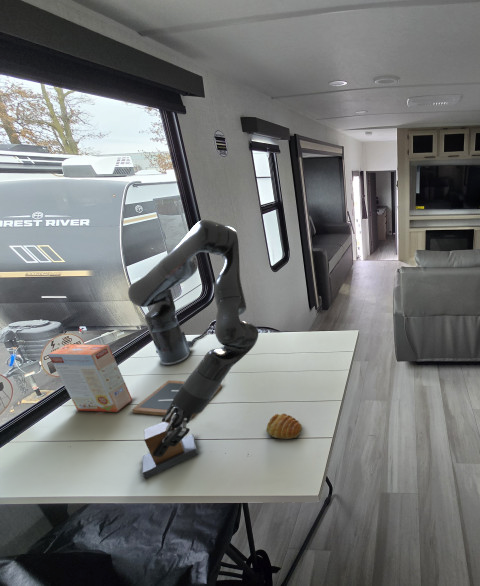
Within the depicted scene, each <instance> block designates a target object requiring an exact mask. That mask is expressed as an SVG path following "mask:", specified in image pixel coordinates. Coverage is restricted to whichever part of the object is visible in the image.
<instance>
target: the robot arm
mask: <svg viewBox="0 0 480 586" xmlns="http://www.w3.org/2000/svg"><path fill="white" fill-rule="evenodd" d="M239 244H240V243H239V237H238V233H237V231H236V230H235V229H234V228H233V227H231V226H229V225H226V224H222V223H220V222H219V223H218V222H217V221H213V220H210V219H209V220H208V219H202V220H200V221H198V222H197V223H195V225H193V227H192V228H191V229H190V231H189V232H188V233H187V234H186V235H185V237H184V238H183V239H182V240H181V241H180V242H179V244H178V245H176V247H174V248H173V249H172V250H171V251H170V252H169V253H168V254H166V255H165V256H164V257H163V258H162V259H161V260H160V261H159V262H158V263H157V264H156V265H155V266H154V267H152V268H151V269H150V270H149V271H148V272H147V273H146V274H145V275H144V276H142V277H141V278H140V279H137V280H136V281H135V282H133V283H131V285H129V287H128V291H127V295H128V296H127V297H128V299H129V300H130V302H131V303H132V304H133V305H135V306H136V307H139V308H140V307H141V308H147V307H151V306H152V307H151V308H150V310H149V311H147V312H146V314H145V315H144V321H145V323H146V326H147V328H148V332H149V334H150V337H151V338H152V342H153V345H154V346H155V349H156V350H155V352H156V354H157V356H158V358H159V361H160V364H161V365H163V366H171V365H176V364H179V363H181V362H183V361H184V360H186V359H187V358H189V356H190V354H191V349H190V348H192V347H193V345H194V342H195V341H197V340H199V339H200V338H202V337H204V336H205V335H206V334H207V333H208V331H209V330H212V331H213V330H214V335H215V337H216V339H217V341H218V343H219V344H220V345H222V346H221V347H219V348H212V349H210V350H209V351H207V353H206V354H205V355H204V357H203V358H202V359H201V361H200V362H199V363H198V365H197V366H196V368H195V369H194V370H192V372H191V373H190V374H189V375H188V377H187V378H186V380H184V381H183V382H184V384H183V385H182V387H181V388H180V389H179V391H178V392H177V394H176V395H175V396H174V398H173V402H172V403H171V405H170V407H169V409H168V410H167V412H166V414H165V416H164V415H163V417H162V419H161V423H162V422H164V421H165V422H166V421H169V419H170V423H169V424H168V426H167V428H166V432H167V433H166V434H165V436H164V437H163V439H162V440H161V442H160V443H159V445H158V446H157V447H156V449H155V450H154V452H153V456H157V457H161V456H163V455H164V453H165V452H166V450H167V449H168V448H169V446H174V447H175V446H176V445H177V444H178V443H179V442H180V441H181V440H182V439H183V438H185V437H187V435H188V434H189V433H190V431H191V430H190V428H189V427H187V425H188V424H189V423H190V421H191V420H192V418H193V417H192V415H193V414H195V415H197V414H199V413H202V412H203V411H204V410H205V408H206V407H207V405H208V404H209V403H210V401H211V400H212V398H213V397H214V396H215V395H216V393H217V392H218V391H219V390H218V388H219V386H220V384H221V385H222V383H223V381H224V379H225V378H226V376H227V375H228V373H230V371H231V370H232V368H233V366H235V365H236V364H237V363H238V362H240V361H241V360H242V359H243V358H244V357H245V356H246V355H248V353H249V352H250V351H251V350H252V349H253V348H254V347H255V345H256V344H257V341H258V339H259V330H258V327H257V326H256V325H255V324H253V323H250V322H248V321H245V320H241V319H240V316H242V315H244V314H245V313H246V311H247V302H246V298H245V294H244V289H243V284H242V280H241V267H240V266H241V265H240V264H241V263H240V245H239ZM199 253H206V254H211V255H216V256H221V258H222V261H223V267H222V269H221V270H220V272H219V274H218V275H217V277H216V279H215V282H214V284H213V295H214V298H215V300H214V301H215V304H216V309H217V311H216V315H215V325H214V328H213V327H208V328H207V329H206V330H205V331H204V332H203V333H202V334H200V335H197V336H196V337H194V338H193V339H192V340H191V341H190V340H188V339H187V337H186V334H185V331H182V329H181V326H180V323H179V319H178V317H177V314H176V304H175V301H174V297H173V292H172V290H171V289H173V288H175V287H178V286H179V285H181V284H183V283H185V282H187V281H188V280H189V279H190V278H191V277H193V276H194V275H195V274H196V272H198V271H197V270H198V267H199V262H198V258H197V255H198V254H199ZM217 390H218V391H217ZM216 391H217V392H216ZM215 392H216V393H215ZM191 417H192V418H191ZM171 427H173V428H175V430H172V429H171ZM169 434H171V435H170V436H169ZM168 436H169V437H168Z"/></svg>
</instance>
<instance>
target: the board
mask: <svg viewBox="0 0 480 586" xmlns="http://www.w3.org/2000/svg"><path fill="white" fill-rule="evenodd" d="M184 382H185V381H184V380H183V381H181V380H167V381H166V382H165V383H163V384H162V385H161V386H160V387H158V388H157V389H156V390H155V391H153V392H152V393H151V394H149V395H148V396H147V397H146V398H144V400H143V399H142V401H141V402H139V403H138V404H137V405H136V406H134V407H133V408H132V409H131V411H132V413H133V414H134V413H135V414H144V415H153V416H154V415H155V416H163V417H164V416H165V414H166V412H167V410H168V409H169V407H170V405H171V403H172V402H173V398H174V396H175V395H176V394H177V392H178V391H179V389H180V388H181V387H182V385H183V384H184ZM221 388H222V383H221V384H220V386H219V388H218V390H217V391H216V392H215V394H217V393H218V392H219V390H220V389H221ZM195 415H196V414H193V415H192V417H191V419H192V418H193V417H194V416H195Z"/></svg>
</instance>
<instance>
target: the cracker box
mask: <svg viewBox="0 0 480 586" xmlns="http://www.w3.org/2000/svg"><path fill="white" fill-rule="evenodd" d="M47 356H48V357H49V360H50V361H51V363H52V365H53V367H54V369H55V371H56V373H57V375H58V376H59V378H60V380H61V382H62V384H63V386H64V387H65V390H66V391H67V394H68V395H69V398H70V399H71V401H72V403H73V405H74V407H75V408H76V409H75V410H77V411H86V412H87V411H88V412H110V413H112V412H113V413H115V412H116V413H118V412H119V411H120V410H121V409H123V408H124V407H126V406H127V405H128V404H129V403H131V402H132V401H133V398H132V396H131V393H130V391H129V388H128V386H127V383H126V382H125V379H124V377H123V375H122V373H121V370H120V368H119V365H118V364H117V361H116V358H115V357H114V354H113V352H112V349H111V347H110V345H109V344H75V343H74V344H72V343H70V344H69V343H68V344H65V345H63V346H61V347H59V348H58V349H56V350H53V351H51V352H49V353H48V354H47Z"/></svg>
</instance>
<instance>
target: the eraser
mask: <svg viewBox="0 0 480 586" xmlns="http://www.w3.org/2000/svg"><path fill="white" fill-rule="evenodd" d="M169 423H170V419H169V421H166V422H165V421H164V422H162V421H161V422H159V423H157V424H153V425H151V426H149V427H147V428H144V429H143V441H144V443H145V445H146V448H147V449H148V452H147V453H146V454H144V455H142V475H143V478H144V479H145V480H146V479H148V478H150V477H152V476H154V475H156V474H159V473H161V472H164V471H165V470H167V469H169V468H172V467H175V465H178V464H180V463H182V462H184V461H186V460H189V459H191V458H193V457H195V456H197V455H198V448H197V444H196V438H195V436H194V434H193V433H192V434H190V435H188V436H187V435H186V436H185V437H184V438H183V439H182V440H181V441H180V442H179V443H178V444H177V445H176V446H175V447H174V446H169V448H168V449H167V450H166V452H165V453H164V455H163V456H161V457H157V456H153V452H154V450H155V449H156V447H157V446H158V445H159V443H160V442H161V440H162V439H163V437H164V436H165V434H166V433H167V432H166V428H167V426H168V424H169ZM171 429H172V430H175V428H173V427H171ZM170 435H171V434H169V436H170ZM169 436H168V437H169Z"/></svg>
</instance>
